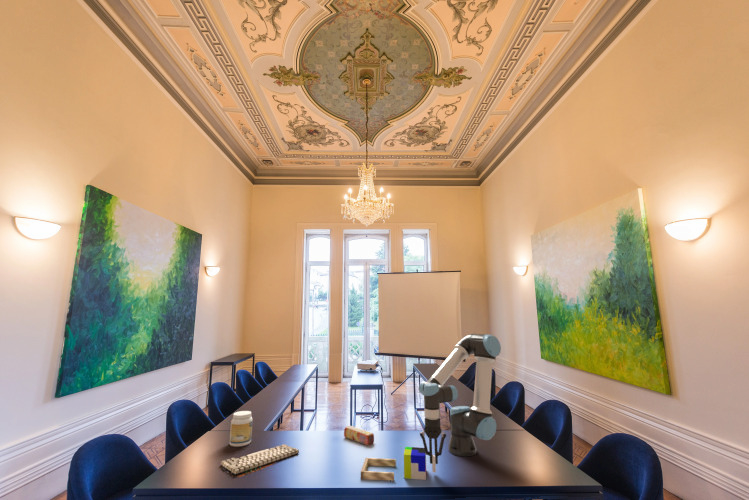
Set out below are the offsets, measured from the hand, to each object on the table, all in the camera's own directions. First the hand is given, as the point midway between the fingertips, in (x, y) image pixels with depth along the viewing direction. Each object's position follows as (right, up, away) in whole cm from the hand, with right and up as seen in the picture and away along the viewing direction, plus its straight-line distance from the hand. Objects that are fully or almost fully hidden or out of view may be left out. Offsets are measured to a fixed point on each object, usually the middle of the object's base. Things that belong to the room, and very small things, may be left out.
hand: (434, 471), depth 159 cm
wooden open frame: (-26, -2, +3) cm, 26 cm away
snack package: (-38, -11, +44) cm, 59 cm away
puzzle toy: (-9, -2, +1) cm, 9 cm away
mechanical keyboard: (-88, -6, +16) cm, 90 cm away
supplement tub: (-109, -10, +40) cm, 116 cm away
